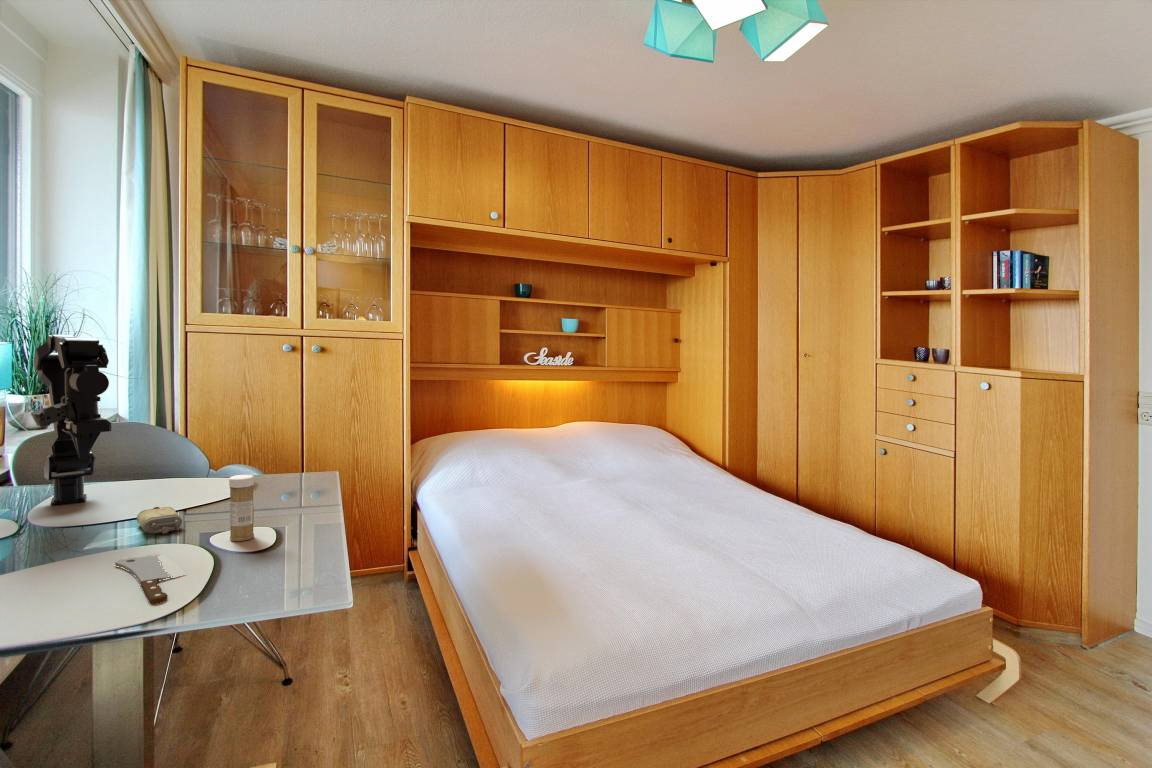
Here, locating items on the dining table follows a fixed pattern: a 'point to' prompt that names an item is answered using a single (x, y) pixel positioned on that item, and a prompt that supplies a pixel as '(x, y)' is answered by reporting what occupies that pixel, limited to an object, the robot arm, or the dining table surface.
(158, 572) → the kitchen cleaver
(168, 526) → the beige handled case
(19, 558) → the dining table surface
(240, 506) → the sprinkles bottle
